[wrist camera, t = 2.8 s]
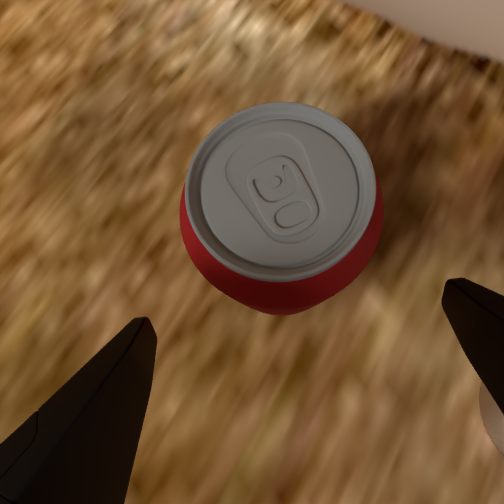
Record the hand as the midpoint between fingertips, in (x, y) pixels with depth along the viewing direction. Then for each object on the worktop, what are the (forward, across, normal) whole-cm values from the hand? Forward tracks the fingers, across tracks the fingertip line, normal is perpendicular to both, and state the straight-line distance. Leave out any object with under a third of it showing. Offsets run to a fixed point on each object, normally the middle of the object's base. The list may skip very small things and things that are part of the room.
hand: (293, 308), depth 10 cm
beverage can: (+10, 0, +5) cm, 11 cm away
